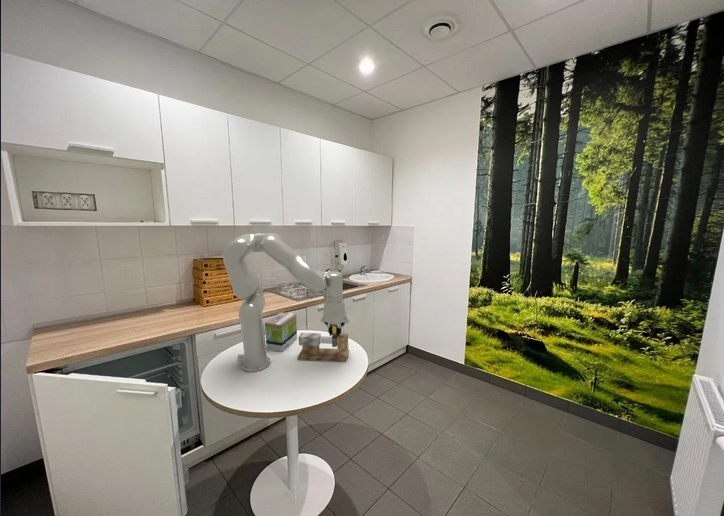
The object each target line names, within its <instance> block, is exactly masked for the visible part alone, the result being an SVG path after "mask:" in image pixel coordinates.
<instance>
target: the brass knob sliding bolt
mask: <svg viewBox="0 0 724 516" xmlns="http://www.w3.org/2000/svg"><path fill="white" fill-rule="evenodd" d="M331 330H332V335H331V336H322V335H321V336H320V337H319V343H320V344H329V345H330V344H331V346H332V348H337V337H338V323H331Z"/></svg>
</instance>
